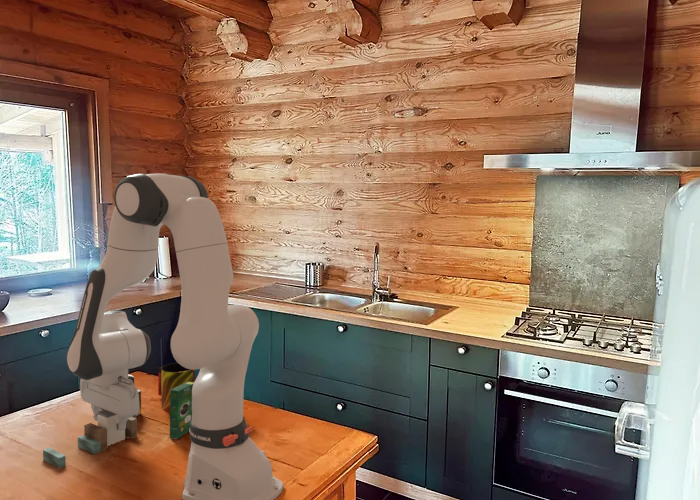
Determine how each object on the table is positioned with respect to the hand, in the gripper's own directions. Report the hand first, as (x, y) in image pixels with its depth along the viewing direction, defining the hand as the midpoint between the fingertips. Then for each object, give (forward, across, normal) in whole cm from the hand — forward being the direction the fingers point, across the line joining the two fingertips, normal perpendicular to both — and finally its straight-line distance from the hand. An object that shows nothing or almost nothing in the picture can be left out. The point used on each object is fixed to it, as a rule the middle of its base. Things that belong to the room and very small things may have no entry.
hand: (109, 425), depth 137 cm
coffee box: (+4, -11, -14) cm, 19 cm away
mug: (+4, +7, -25) cm, 26 cm away
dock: (+4, 0, +5) cm, 6 cm away
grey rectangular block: (+4, 0, 0) cm, 4 cm away
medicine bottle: (+4, +11, -11) cm, 16 cm away
